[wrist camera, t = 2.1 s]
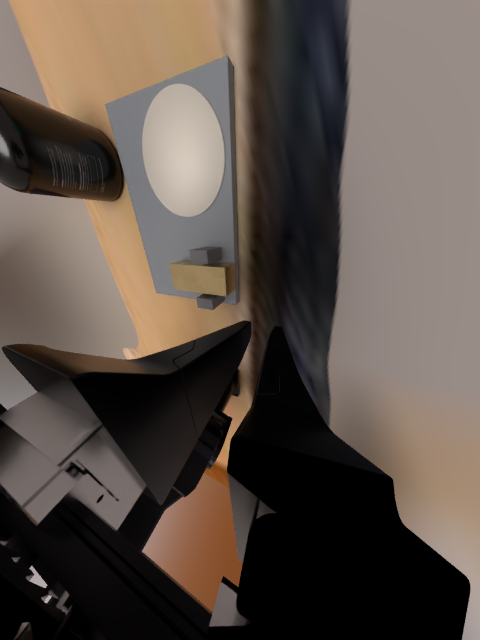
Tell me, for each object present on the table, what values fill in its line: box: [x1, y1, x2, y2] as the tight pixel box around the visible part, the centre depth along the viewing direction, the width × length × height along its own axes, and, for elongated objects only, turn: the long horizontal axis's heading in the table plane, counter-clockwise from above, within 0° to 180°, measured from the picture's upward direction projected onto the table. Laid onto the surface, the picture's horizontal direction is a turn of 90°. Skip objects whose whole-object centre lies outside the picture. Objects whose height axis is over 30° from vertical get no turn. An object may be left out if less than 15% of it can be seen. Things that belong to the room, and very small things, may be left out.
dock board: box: [105, 55, 239, 310], centre depth 18 cm, size 19×13×4 cm
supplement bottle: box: [0, 87, 122, 201], centre depth 16 cm, size 7×7×12 cm
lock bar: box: [169, 260, 235, 296], centre depth 20 cm, size 3×7×2 cm, turn 92°
